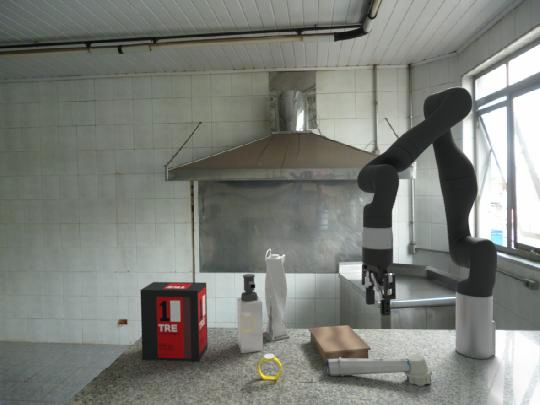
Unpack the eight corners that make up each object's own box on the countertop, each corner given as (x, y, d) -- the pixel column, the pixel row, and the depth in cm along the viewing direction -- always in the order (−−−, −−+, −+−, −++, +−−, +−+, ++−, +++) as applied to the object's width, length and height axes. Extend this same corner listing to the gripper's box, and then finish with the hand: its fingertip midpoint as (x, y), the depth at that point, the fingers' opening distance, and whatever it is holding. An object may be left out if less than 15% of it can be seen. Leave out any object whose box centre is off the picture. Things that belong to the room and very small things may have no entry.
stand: (348, 337, 116) (348, 325, 116) (370, 362, 99) (370, 347, 99) (308, 340, 114) (308, 328, 114) (325, 366, 97) (324, 351, 97)
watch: (258, 382, 91) (255, 358, 90) (259, 376, 93) (257, 353, 93) (281, 381, 90) (279, 358, 90) (282, 375, 93) (280, 353, 92)
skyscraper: (258, 332, 121) (257, 249, 120) (280, 328, 125) (279, 247, 124) (270, 342, 114) (269, 253, 113) (292, 337, 117) (291, 250, 116)
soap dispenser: (242, 356, 104) (241, 280, 103) (237, 344, 112) (236, 273, 112) (264, 353, 105) (263, 278, 105) (258, 341, 114) (257, 272, 113)
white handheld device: (326, 354, 96) (426, 348, 91) (330, 379, 96) (430, 375, 91) (325, 364, 91) (431, 358, 86) (329, 390, 91) (435, 386, 86)
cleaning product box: (142, 359, 103) (140, 289, 102) (155, 346, 112) (153, 281, 111) (199, 361, 101) (197, 290, 101) (207, 347, 110) (206, 282, 110)
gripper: (406, 249, 84) (406, 318, 85) (378, 240, 98) (378, 300, 99) (375, 250, 83) (375, 320, 84) (352, 241, 97) (352, 301, 98)
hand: (377, 309), depth 91 cm, fingers open, 8 cm apart
